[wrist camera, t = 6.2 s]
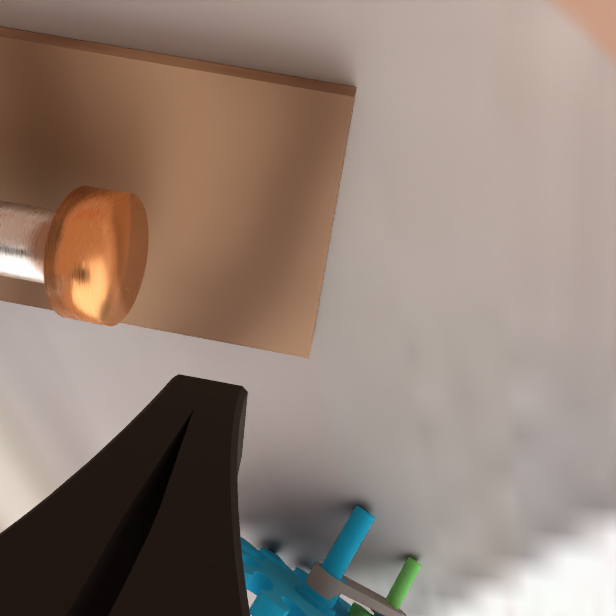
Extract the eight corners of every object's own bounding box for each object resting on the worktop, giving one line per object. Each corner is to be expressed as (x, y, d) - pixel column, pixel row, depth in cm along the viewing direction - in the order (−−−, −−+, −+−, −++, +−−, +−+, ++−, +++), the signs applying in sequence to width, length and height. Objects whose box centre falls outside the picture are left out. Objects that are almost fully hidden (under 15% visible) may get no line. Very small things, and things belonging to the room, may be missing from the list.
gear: (176, 535, 26) (263, 679, 17) (246, 430, 27) (359, 513, 18) (329, 610, 31) (456, 750, 22) (381, 517, 32) (521, 615, 23)
